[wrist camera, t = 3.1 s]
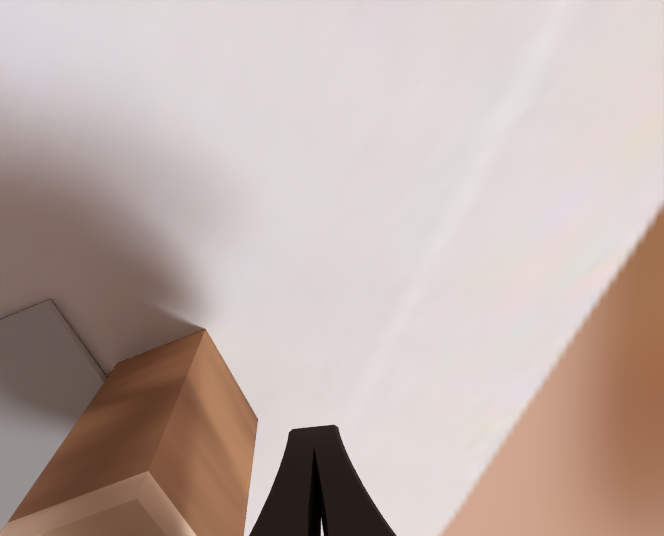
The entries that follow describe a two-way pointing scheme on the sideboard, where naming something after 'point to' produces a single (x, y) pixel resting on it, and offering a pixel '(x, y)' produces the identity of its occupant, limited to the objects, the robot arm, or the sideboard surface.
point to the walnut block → (151, 453)
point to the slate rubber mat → (38, 395)
